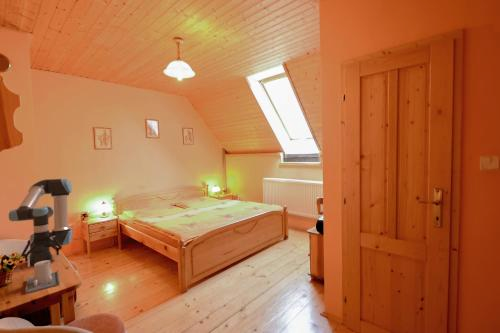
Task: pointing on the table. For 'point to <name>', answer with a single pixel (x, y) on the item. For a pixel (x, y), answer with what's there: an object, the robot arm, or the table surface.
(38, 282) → the cup
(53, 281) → the tray
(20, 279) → the table surface
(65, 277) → the table surface
